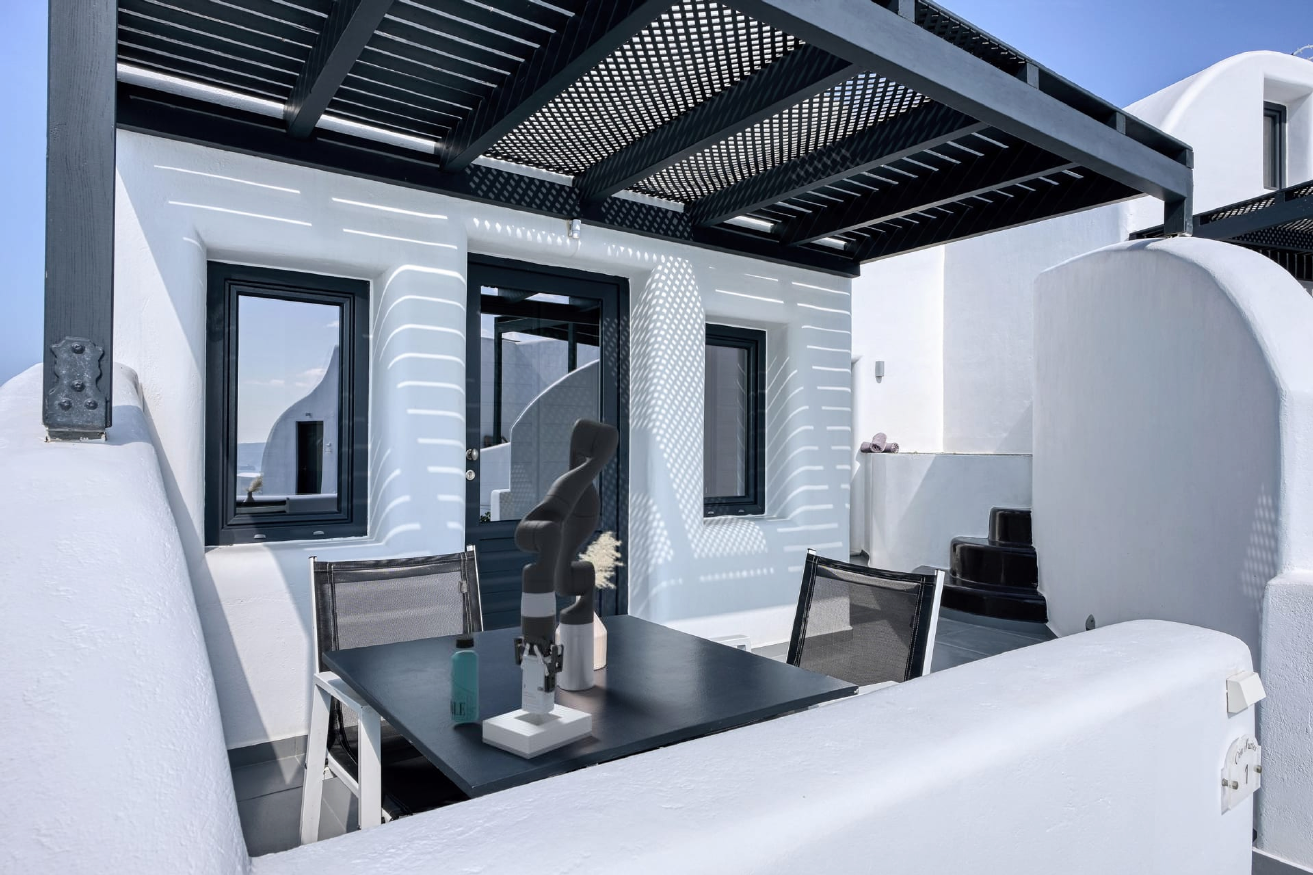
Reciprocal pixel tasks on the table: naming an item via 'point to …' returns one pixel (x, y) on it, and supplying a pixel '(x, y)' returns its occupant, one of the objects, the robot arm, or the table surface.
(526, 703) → the skincare box
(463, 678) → the beverage bottle
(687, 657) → the table surface
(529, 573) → the robot arm
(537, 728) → the white flat block
